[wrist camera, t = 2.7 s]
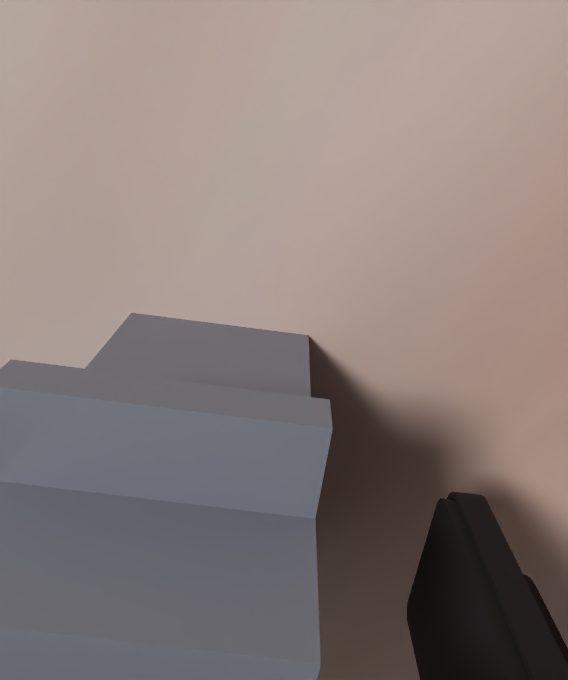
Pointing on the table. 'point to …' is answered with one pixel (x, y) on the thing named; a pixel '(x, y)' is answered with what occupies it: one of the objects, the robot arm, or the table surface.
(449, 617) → the robot arm
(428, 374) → the table surface
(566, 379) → the table surface
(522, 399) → the table surface
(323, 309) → the table surface
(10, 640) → the block
